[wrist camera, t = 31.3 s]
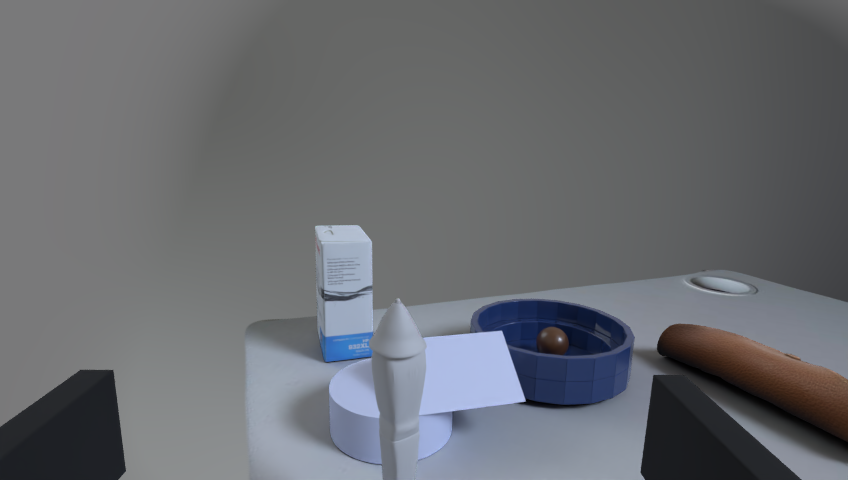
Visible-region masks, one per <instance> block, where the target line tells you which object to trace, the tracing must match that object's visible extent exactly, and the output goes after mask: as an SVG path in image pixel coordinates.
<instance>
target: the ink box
mask: <svg viewBox="0 0 848 480" xmlns="http://www.w3.org/2000/svg"><path fill="white" fill-rule="evenodd" d="M315 233H316V235H315V237H316V283H317V284H316V286H317V330H318V335H319V339H320V344H321V348H322V353H323V357H324V361H325V362H331V361H339V360H347V359H355V358H364V357H372V353H373V351H372V350H371V349H370V348H369V340H370V339H371V338H372V336H373V312H372V241H371V240H370V239H369V238H368V236H367V235H366V234H365V233H364V231H363V230H362V229H361V228H360V226H359V225H347V226H346V225H341V226H315Z"/></svg>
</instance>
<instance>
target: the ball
mask: <svg viewBox="0 0 848 480" xmlns="http://www.w3.org/2000/svg"><path fill="white" fill-rule="evenodd" d="M536 345H537V348H538V350H539V352H540V353H544V354H553V355H562V356H563V355H564V354H565V353H566V352H567V350H568V346H569V341H568V337H567V335H566V334H565V333H564V332H563V331H562V330H561V329H559V328H556V327H547V328H544V329H543V330H541V331H540V332H539V334H538V336H537V339H536Z"/></svg>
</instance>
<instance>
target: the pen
mask: <svg viewBox="0 0 848 480" xmlns="http://www.w3.org/2000/svg"><path fill="white" fill-rule="evenodd" d="M369 348H370V349H371V350H372V351H373V353H372V375H373V382H374V389H375V395H376V401H377V406H378V409H379V412H380V415H379V426H380V428H379V437H380V449H381V461H382V474H383V480H415V478H416V470H417V461H418V447H419V437H420V434H419V411H420V405H421V399H422V394H423V388H424V381H425V374H426V354H425V349H426V348H427V345H426V342H425V340H424V339H423V337H422V336H421V334H420V333H419V331H418V329H417V326H416V324H415V322H414V320H413V319H412V317H411V315H410V314H409V312H408V311H407V309H406V308H405V306H404V305H403V303H401V301H400V299H398V298H397V299H396V300H395V302H393V304H392V305H391V306H390V308H389V309H388V310H387V312H386V313H385V315H384V316H383V318H382V320H381V321H380V323H379V325H378V328H377V330H376V332H375V333H374V335H373V336H372V338H371V339H370V340H369Z"/></svg>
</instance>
